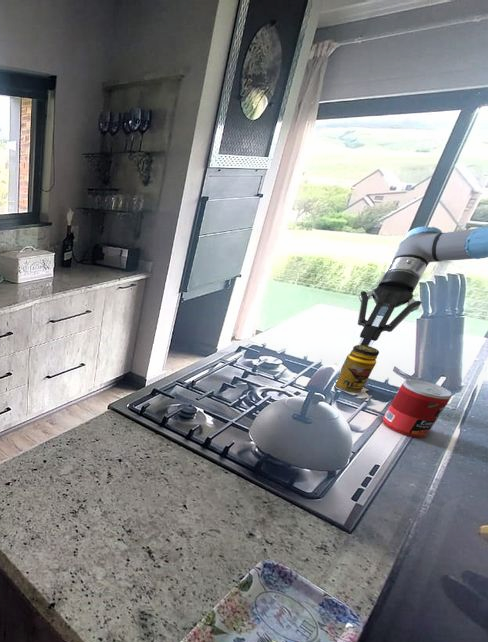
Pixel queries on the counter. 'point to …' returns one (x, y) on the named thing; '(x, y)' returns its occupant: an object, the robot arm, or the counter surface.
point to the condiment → (357, 369)
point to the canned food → (416, 407)
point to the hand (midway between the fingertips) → (362, 348)
